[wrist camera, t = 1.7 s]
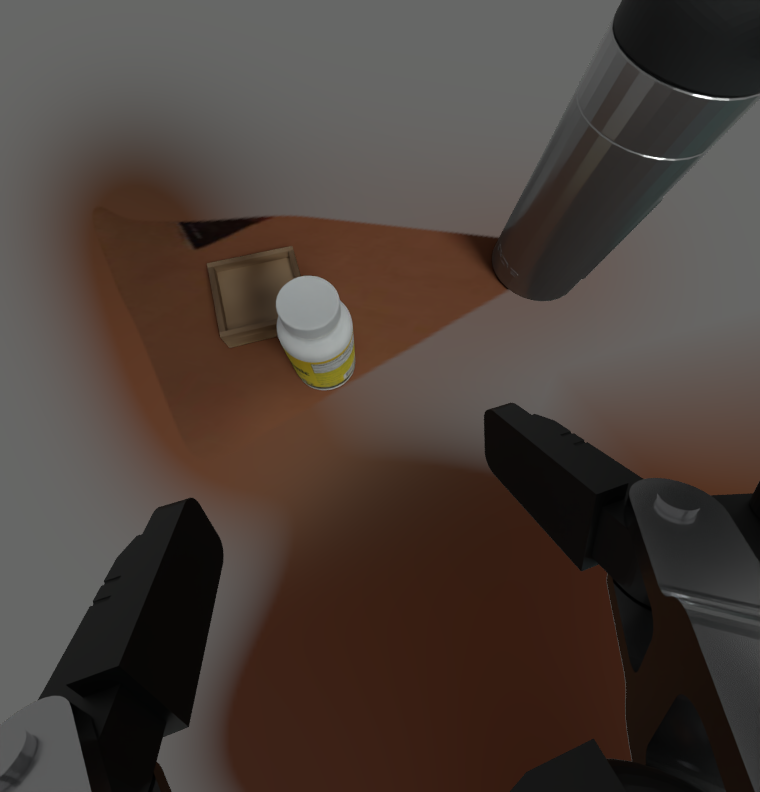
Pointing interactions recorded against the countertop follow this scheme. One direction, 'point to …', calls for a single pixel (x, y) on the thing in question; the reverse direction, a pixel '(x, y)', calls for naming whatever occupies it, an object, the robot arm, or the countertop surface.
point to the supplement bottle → (316, 332)
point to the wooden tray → (250, 293)
